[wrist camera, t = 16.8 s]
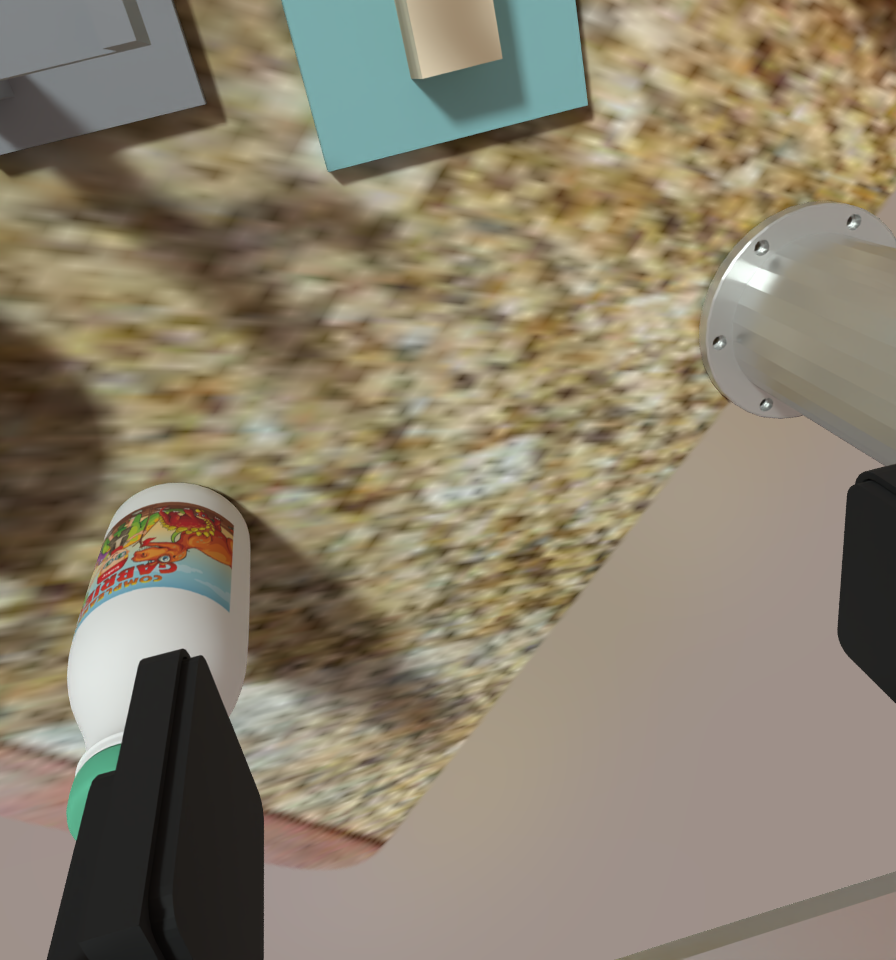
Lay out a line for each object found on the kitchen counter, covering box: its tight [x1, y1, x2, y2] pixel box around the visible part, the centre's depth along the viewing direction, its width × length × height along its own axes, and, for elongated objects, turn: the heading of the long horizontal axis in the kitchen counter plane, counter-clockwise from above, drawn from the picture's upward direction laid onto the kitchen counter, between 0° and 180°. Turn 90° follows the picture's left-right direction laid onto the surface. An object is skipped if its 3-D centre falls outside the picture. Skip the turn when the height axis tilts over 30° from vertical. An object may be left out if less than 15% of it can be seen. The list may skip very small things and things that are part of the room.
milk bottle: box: [66, 483, 250, 840], centre depth 38 cm, size 8×8×20 cm
